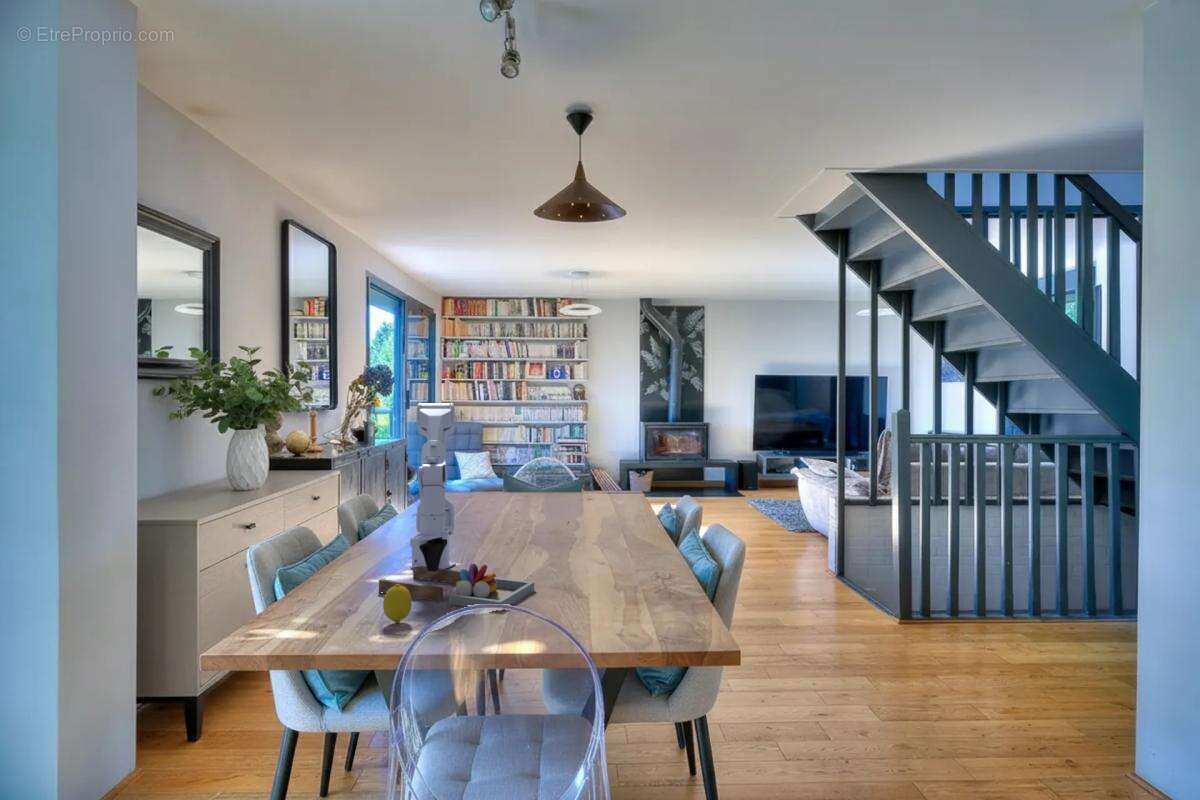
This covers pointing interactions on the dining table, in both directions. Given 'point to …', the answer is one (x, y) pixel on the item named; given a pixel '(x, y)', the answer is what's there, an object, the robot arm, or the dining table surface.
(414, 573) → the lane rails
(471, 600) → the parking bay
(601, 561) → the dining table surface
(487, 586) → the multicolored rounded disc cluster
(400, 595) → the lemon
